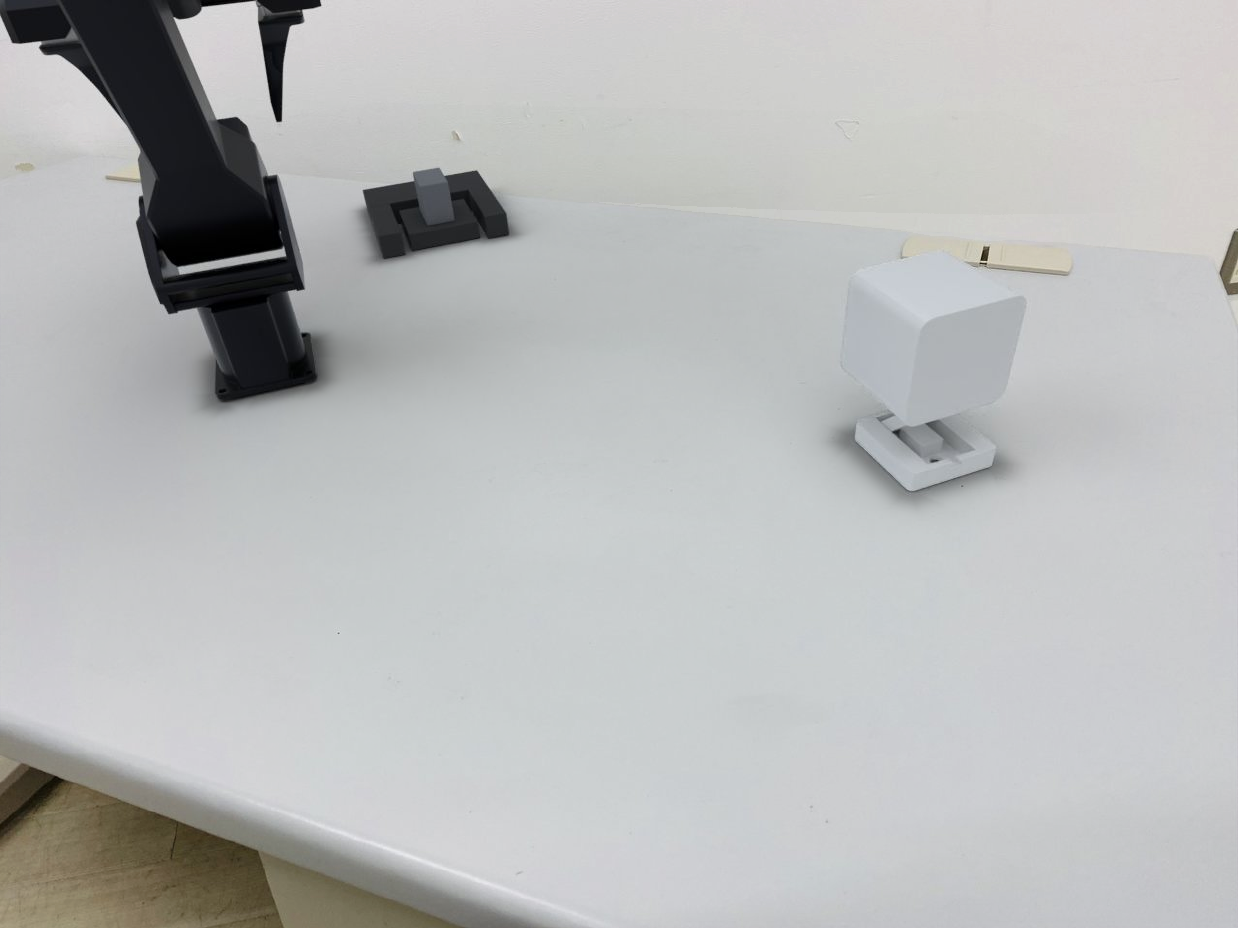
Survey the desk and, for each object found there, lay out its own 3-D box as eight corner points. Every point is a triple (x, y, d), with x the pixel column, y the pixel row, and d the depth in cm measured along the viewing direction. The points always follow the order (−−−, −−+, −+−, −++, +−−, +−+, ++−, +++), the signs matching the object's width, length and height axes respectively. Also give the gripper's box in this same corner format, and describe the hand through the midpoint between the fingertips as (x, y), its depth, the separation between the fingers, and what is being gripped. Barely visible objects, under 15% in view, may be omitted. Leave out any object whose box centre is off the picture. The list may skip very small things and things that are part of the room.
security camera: (922, 400, 54) (949, 246, 48) (1000, 463, 49) (1042, 299, 43) (831, 426, 53) (848, 270, 47) (902, 494, 47) (932, 329, 41)
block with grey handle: (480, 238, 78) (471, 181, 75) (412, 251, 76) (400, 194, 73) (466, 214, 82) (457, 160, 79) (401, 226, 81) (390, 171, 78)
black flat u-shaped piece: (509, 234, 78) (506, 212, 77) (383, 258, 75) (378, 236, 74) (480, 190, 87) (477, 170, 86) (367, 210, 85) (362, 189, 83)
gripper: (-87, -110, 45) (49, 190, 55) (288, -141, 49) (355, 143, 59) (-33, -122, 54) (77, 139, 63) (283, -148, 58) (342, 101, 67)
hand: (212, 130), depth 63 cm, fingers open, 9 cm apart
